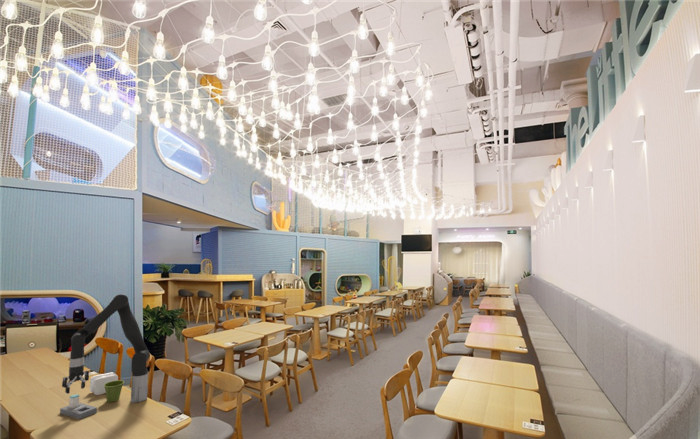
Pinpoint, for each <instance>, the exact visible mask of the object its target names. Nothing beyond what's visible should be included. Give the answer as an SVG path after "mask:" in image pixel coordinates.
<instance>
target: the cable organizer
mask: <svg viewBox="0 0 700 439" xmlns="http://www.w3.org/2000/svg"><path fill="white" fill-rule="evenodd" d="M89 380H90V381H89V391H90V392H91V393H93V394H94V395H96V396H97V395H98V396H100V395H103V394H106V391H105V387H104V384H106V383H108V382H111V381H117V380H119V376H118V375H117V374H116V373H115V372H112V371H111V372H107V373H101V374H96V375H93V376H91V377H90V378H89Z"/></svg>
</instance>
